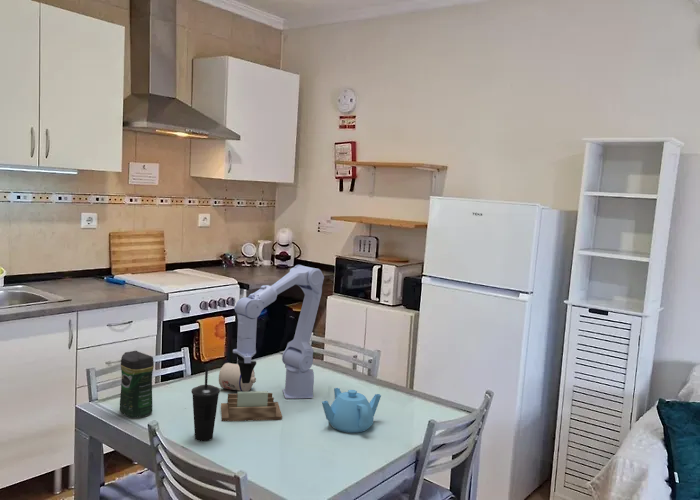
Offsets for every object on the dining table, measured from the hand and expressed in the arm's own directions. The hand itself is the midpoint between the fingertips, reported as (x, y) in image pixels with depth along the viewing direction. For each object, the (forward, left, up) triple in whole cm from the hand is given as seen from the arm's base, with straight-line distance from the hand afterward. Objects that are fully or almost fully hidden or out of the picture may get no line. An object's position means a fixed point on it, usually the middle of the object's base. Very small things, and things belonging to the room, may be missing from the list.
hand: (244, 378), depth 187 cm
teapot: (-31, +14, -10) cm, 36 cm away
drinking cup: (+12, +20, -10) cm, 25 cm away
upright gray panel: (-2, +7, -9) cm, 11 cm away
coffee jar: (+32, +1, -10) cm, 33 cm away
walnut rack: (-2, +3, -10) cm, 11 cm away
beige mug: (+5, -21, -6) cm, 23 cm away
